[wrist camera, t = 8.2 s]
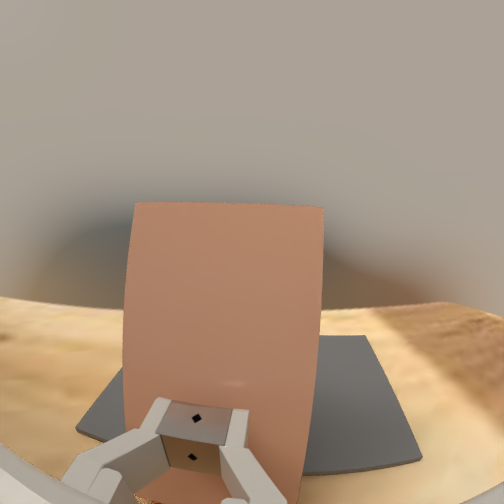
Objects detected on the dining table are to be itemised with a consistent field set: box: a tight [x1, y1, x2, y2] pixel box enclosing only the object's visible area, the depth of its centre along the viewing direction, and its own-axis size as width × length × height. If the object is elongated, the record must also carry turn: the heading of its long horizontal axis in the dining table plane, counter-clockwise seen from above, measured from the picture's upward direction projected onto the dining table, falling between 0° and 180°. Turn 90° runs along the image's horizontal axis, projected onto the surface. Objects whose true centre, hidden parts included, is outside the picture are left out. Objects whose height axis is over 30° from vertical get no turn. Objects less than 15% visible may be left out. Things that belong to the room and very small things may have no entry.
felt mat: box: [75, 335, 423, 476], centre depth 18 cm, size 20×15×1 cm
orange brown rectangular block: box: [123, 202, 323, 504], centre depth 10 cm, size 7×3×13 cm, turn 85°
